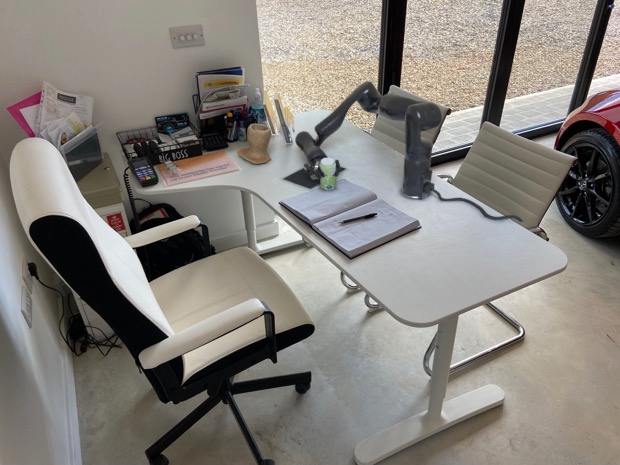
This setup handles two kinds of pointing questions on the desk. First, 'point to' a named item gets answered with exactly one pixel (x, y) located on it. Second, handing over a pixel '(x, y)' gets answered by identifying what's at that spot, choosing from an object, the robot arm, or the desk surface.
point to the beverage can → (328, 173)
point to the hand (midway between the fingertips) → (328, 175)
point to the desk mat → (305, 178)
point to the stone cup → (256, 144)
